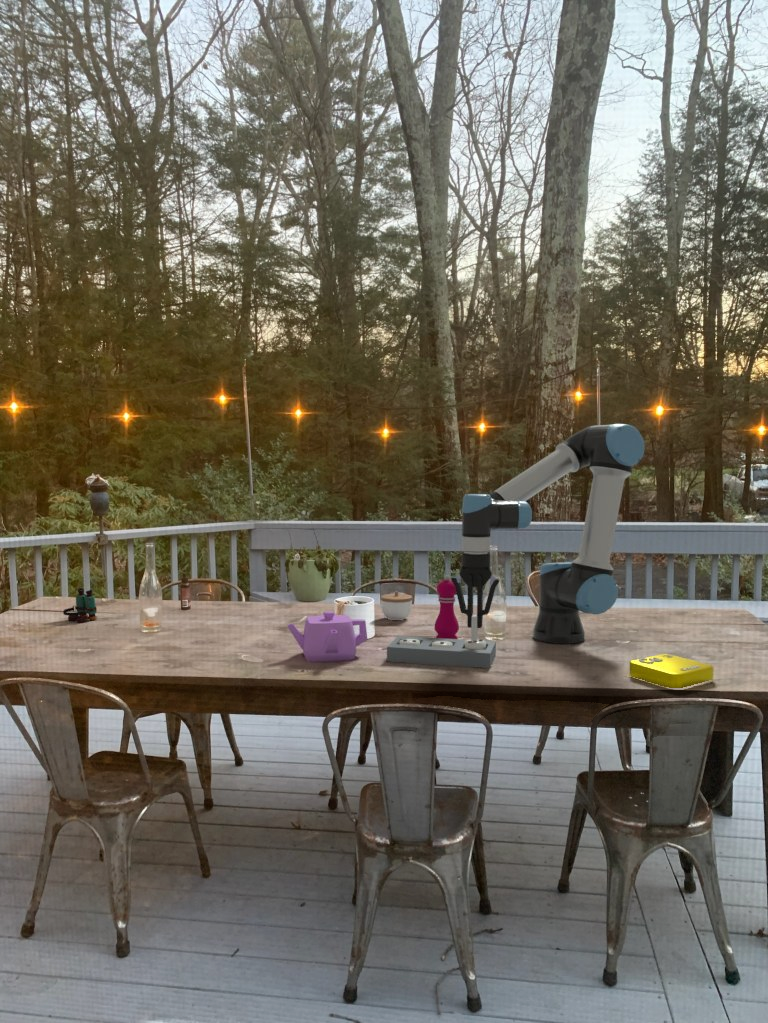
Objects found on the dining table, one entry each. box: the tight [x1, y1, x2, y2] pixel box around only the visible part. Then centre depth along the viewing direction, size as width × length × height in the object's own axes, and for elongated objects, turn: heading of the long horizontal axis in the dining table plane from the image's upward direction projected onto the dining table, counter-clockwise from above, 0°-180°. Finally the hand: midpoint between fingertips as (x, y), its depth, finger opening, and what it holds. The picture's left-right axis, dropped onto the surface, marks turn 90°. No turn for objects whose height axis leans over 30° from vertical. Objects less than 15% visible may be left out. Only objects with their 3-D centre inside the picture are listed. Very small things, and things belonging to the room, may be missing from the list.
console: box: [386, 635, 497, 669], centre depth 207 cm, size 28×13×4 cm, turn 76°
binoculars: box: [63, 587, 98, 624], centre depth 255 cm, size 9×11×10 cm
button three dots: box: [465, 638, 487, 650], centre depth 204 cm, size 6×6×4 cm
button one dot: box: [432, 641, 453, 648], centre depth 207 cm, size 6×6×4 cm
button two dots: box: [400, 639, 420, 646], centre depth 209 cm, size 6×6×4 cm
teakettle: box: [286, 610, 368, 663], centre depth 210 cm, size 17×17×12 cm
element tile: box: [628, 653, 714, 688], centre depth 188 cm, size 15×15×5 cm
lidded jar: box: [380, 590, 413, 621], centre depth 258 cm, size 11×11×9 cm
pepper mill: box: [434, 574, 460, 639], centre depth 225 cm, size 7×7×20 cm
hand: (474, 639), depth 204 cm, fingers closed
